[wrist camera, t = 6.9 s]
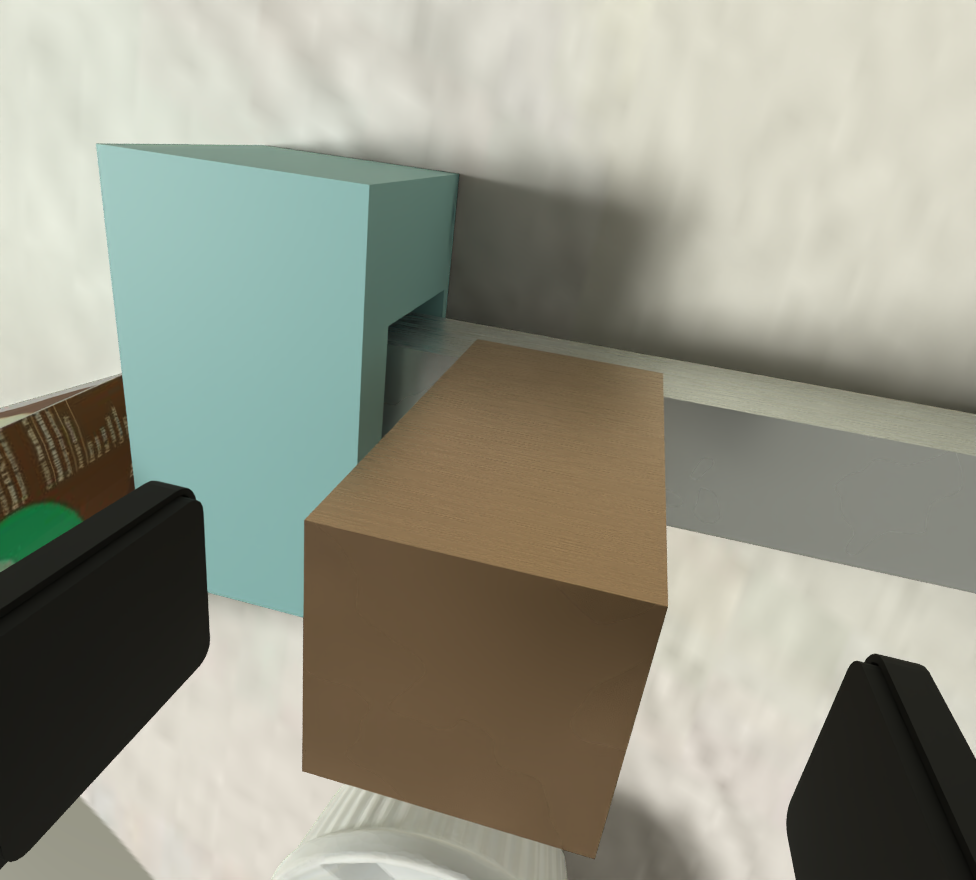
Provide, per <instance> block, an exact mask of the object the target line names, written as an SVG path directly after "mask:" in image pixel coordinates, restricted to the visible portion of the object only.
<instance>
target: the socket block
mask: <svg viewBox="0 0 976 880" xmlns="http://www.w3.org/2000/svg"><path fill="white" fill-rule="evenodd" d="M96 148H97V157H98V165H99V174H100V183H101V192H102V201H103V210H104V218H105V227H106V236H107V245H108V254H109V263H110V271H111V280H112V289H113V298H114V307H115V316H116V324H117V333H118V342H119V351H120V360H121V369H122V378H123V386H124V395H125V404H126V413H127V422H128V431H129V439H130V448H131V457H132V466H133V475H134V484H135V489H137V488H138V487H140V486H142V485H143V484H145V483H147V482H149V481H161V482H165V483H169V484H173V485H177V486H181V487H185V488H189V489H190V490H192V491H193V493H194V495H195V497H196V500H198V501H199V502H201V504H202V506H203V511H204V529H205V550H206V570H207V591H208V593H212V594H216V595H220V596H224V597H227V598H231V599H235V600H239V601H243V602H246V603H250V604H254V605H258V606H262V607H265V608H269V609H273V610H277V611H281V612H285V613H288V614H292V615H296V616H300V617H303V604H304V520H305V519H306V518H307V517H308V516H309V514H310V513H311V512H312V511H313V510H314V509H315V508H316V507H317V506H318V505H319V504H320V503H321V502H322V501H323V500H324V499H325V498H326V497H327V496H328V495H329V494H330V493H331V491H332V490H333V489H334V488H335V487H336V486H337V485H338V484H339V483H340V482H341V481H342V480H343V479H344V478H345V477H346V476H347V475H348V474H349V473H350V472H351V471H352V469H353V468H354V467H355V466H356V465H357V464H358V463H359V462H360V461H361V460H362V459H363V458H364V457H365V456H366V455H367V454H368V453H369V452H370V451H371V450H372V449H373V448H374V446H375V445H376V444H377V443H378V442H379V441H380V440H381V439H382V423H383V407H384V390H385V373H386V357H387V340H388V326H389V325H391V324H392V323H394V322H396V321H397V320H399V319H400V318H402V317H403V316H405V315H406V314H408V313H409V312H415V313H420V314H426V315H431V316H437V317H442V318H446V308H447V298H448V287H449V277H450V266H451V256H452V245H453V235H454V225H455V214H456V204H457V193H458V183H459V174H457V173H450V172H443V171H436V170H429V169H422V168H416V167H409V166H402V165H395V164H388V163H381V162H374V161H368V160H361V159H354V158H347V157H340V156H333V155H326V154H319V153H313V152H306V151H299V150H292V149H285V148H278V147H271V146H264V145H191V144H96Z"/></svg>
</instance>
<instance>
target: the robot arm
mask: <svg viewBox="0 0 976 880" xmlns="http://www.w3.org/2000/svg"><path fill="white" fill-rule="evenodd" d="M209 645H210V632H209V611H208V591H207V570H206V550H205V529H204V511H203V506H202V504H201V502H199V501H198V500H196V497H195V495H194V493H193V491H192V490H190V489H189V488H185V487H181V486H177V485H173V484H169V483H165V482H161V481H149V482H147V483H145V484H143V485H142V486H140V487H138V488H137V489H135V490H133V491H132V492H130V493H129V494H127V495H125V496H124V497H122V498H120V499H119V500H117V501H116V502H114V503H112V504H111V505H109V506H107V507H106V508H104V509H102V510H101V511H99V512H98V513H96V514H94V515H93V516H91V517H89V518H88V519H86V520H85V521H83V522H81V523H80V524H78V525H76V526H75V527H73V528H72V529H70V530H68V531H67V532H65V533H63V534H62V535H60V536H59V537H57V538H55V539H54V540H52V541H50V542H49V543H47V544H45V545H44V546H42V547H41V548H39V549H37V550H36V551H34V552H32V553H31V554H29V555H28V556H26V557H24V558H23V559H21V560H19V561H18V562H16V563H15V564H13V565H11V566H10V567H8V568H6V569H5V570H3V571H2V572H0V869H1V868H2V867H3V866H4V865H5V864H6V863H7V862H8V861H9V862H12V861H16V860H18V859H19V858H21V857H23V856H24V855H25V854H26V853H27V852H28V851H29V850H30V849H31V848H32V847H33V846H34V845H35V844H36V843H37V842H38V841H39V840H40V838H41V837H42V836H43V835H44V834H45V833H46V832H47V831H48V830H49V829H50V828H51V826H52V825H53V824H54V823H55V822H56V821H57V820H58V819H59V818H60V817H61V816H62V815H63V814H64V812H65V811H66V810H67V809H68V808H69V807H70V806H71V805H72V804H73V803H74V802H75V801H76V799H77V798H78V797H79V796H80V795H81V794H82V793H83V792H84V791H85V790H86V789H87V788H88V786H89V785H90V784H91V783H92V782H93V781H94V780H95V779H96V778H97V777H98V776H99V774H100V773H101V772H102V771H103V770H104V769H105V768H106V767H107V766H108V765H109V764H110V763H111V761H112V760H113V759H114V758H115V757H116V756H117V755H118V754H119V753H120V752H121V751H122V750H123V748H124V747H125V746H126V745H127V744H128V743H129V742H130V741H131V740H132V739H133V738H134V737H135V735H136V734H137V733H138V732H139V731H140V730H141V729H142V728H143V727H144V726H145V725H146V724H147V722H148V721H149V720H150V719H151V718H152V717H153V716H154V715H155V714H156V713H157V712H158V711H159V709H160V708H161V707H162V706H163V705H164V704H165V703H166V702H167V701H168V700H169V699H170V697H171V696H172V695H173V694H174V693H175V692H176V691H177V690H178V689H179V688H180V687H181V686H182V684H183V683H184V682H185V681H186V680H187V679H188V678H189V677H190V676H191V675H192V674H193V673H194V671H195V670H196V669H197V668H198V667H199V666H200V665H201V663H202V662H203V660H204V659H205V657H206V654H207V652H208V649H209ZM786 826H787V836H788V842H789V847H790V852H791V857H792V862H793V867H794V873H795V878H796V880H976V759H975V757H974V755H973V753H972V751H971V749H970V747H969V745H968V744H967V742H966V740H965V738H964V736H963V734H962V732H961V731H960V729H959V727H958V725H957V723H956V721H955V719H954V718H953V716H952V714H951V712H950V710H949V708H948V706H947V704H946V703H945V701H944V699H943V697H942V695H941V693H940V691H939V690H938V688H937V686H936V684H935V682H934V680H933V678H932V677H931V675H930V673H929V671H928V670H927V669H926V668H925V667H924V666H922V665H920V664H916V663H912V662H908V661H904V660H900V659H896V658H891V657H887V656H883V655H879V654H872V655H870V656H869V657H868V658H867V659H866V660H865V662H860V661H854V662H853V663H852V664H851V665H850V666H849V668H848V670H847V672H846V675H845V677H844V679H843V681H842V684H841V686H840V688H839V691H838V693H837V695H836V697H835V700H834V702H833V704H832V707H831V709H830V711H829V714H828V716H827V718H826V720H825V723H824V725H823V727H822V730H821V732H820V734H819V737H818V739H817V741H816V743H815V746H814V748H813V750H812V753H811V755H810V757H809V760H808V762H807V764H806V766H805V769H804V771H803V773H802V776H801V778H800V780H799V782H798V785H797V787H796V789H795V792H794V794H793V796H792V799H791V801H790V804H789V807H788V812H787V821H786Z"/></svg>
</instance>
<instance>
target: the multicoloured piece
mask: <svg viewBox="0 0 976 880" xmlns="http://www.w3.org/2000/svg"><path fill="white" fill-rule="evenodd" d="M666 525H667V526H671V527H676V528H680V529H685V530H689V531H694V532H698V533H703V534H708V535H712V536H717V537H721V538H726V539H730V540H735V541H739V542H744V543H749V544H753V545H758V546H762V547H767V548H771V549H776V550H780V551H785V552H789V553H794V554H799V555H803V556H808V557H812V558H817V559H821V560H826V561H830V562H835V563H840V564H844V565H849V566H853V567H858V568H862V569H867V570H871V571H876V572H880V573H885V574H890V575H894V576H899V577H903V578H908V579H912V580H917V581H921V582H926V583H931V584H935V585H940V586H944V587H949V588H953V589H958V590H962V591H967V592H971V593H976V414H972V413H967V412H961V411H956V410H950V409H945V408H939V407H934V406H928V405H923V404H917V403H912V402H906V401H901V400H895V399H890V398H884V397H879V396H873V395H867V394H862V393H856V392H851V391H845V390H840V389H834V388H829V387H823V386H818V385H812V384H807V383H801V382H796V381H790V380H785V379H779V378H774V377H768V376H763V375H757V374H752V373H746V372H740V371H735V370H729V369H724V368H718V367H713V366H707V365H702V364H696V363H691V362H685V361H680V360H674V359H669V358H663V357H658V356H652V355H647V354H641V353H636V352H630V351H625V350H619V349H613V348H608V347H602V346H597V345H591V344H586V343H580V342H575V341H569V340H564V339H558V338H553V337H547V336H542V335H536V334H531V333H525V332H520V331H514V330H509V329H503V328H498V327H492V326H486V325H481V324H475V323H470V322H464V321H459V320H453V319H448V318H442V317H437V316H431V315H426V314H420V313H415V312H409V313H408V314H406V315H405V316H403V317H402V318H400V319H399V320H397V321H396V322H394V323H392V324H391V325H389V326H388V340H387V357H386V373H385V390H384V407H383V423H382V439H381V440H380V441H379V442H378V443H377V444H376V445H375V446H374V448H373V449H372V450H371V451H370V452H369V453H368V454H367V455H366V456H365V457H364V458H363V459H362V460H361V461H360V462H359V463H358V464H357V465H356V466H355V467H354V468H353V469H352V471H351V472H350V473H349V474H348V475H347V476H346V477H345V478H344V479H343V480H342V481H341V482H340V483H339V484H338V485H337V486H336V487H335V488H334V489H333V490H332V491H331V493H330V494H329V495H328V496H327V497H326V498H325V499H324V500H323V501H322V502H321V503H320V504H319V505H318V506H317V507H316V508H315V509H314V510H313V511H312V512H311V513H310V514H309V516H308V517H307V518H306V519H305V520H304V604H303V743H302V771H304V772H307V773H310V774H314V775H317V776H320V777H324V778H327V779H330V780H334V781H337V782H340V783H344V784H347V785H350V786H354V787H357V788H360V789H363V790H367V791H370V792H373V793H377V794H380V795H383V796H387V797H390V798H393V799H397V800H400V801H403V802H407V803H410V804H413V805H416V806H420V807H423V808H426V809H430V810H433V811H436V812H440V813H443V814H446V815H450V816H453V817H456V818H459V819H463V820H466V821H469V822H473V823H476V824H479V825H483V826H486V827H489V828H493V829H496V830H499V831H503V832H506V833H509V834H512V835H516V836H519V837H522V838H526V839H529V840H532V841H536V842H539V843H542V844H546V845H549V846H552V847H556V848H559V849H562V850H565V851H569V852H572V853H575V854H579V855H582V856H585V857H589V858H592V859H595V856H596V853H597V850H598V846H599V843H600V839H601V836H602V832H603V829H604V825H605V822H606V819H607V815H608V812H609V808H610V805H611V801H612V798H613V794H614V791H615V787H616V784H617V781H618V777H619V774H620V770H621V767H622V763H623V760H624V756H625V753H626V750H627V746H628V743H629V739H630V736H631V732H632V729H633V725H634V722H635V718H636V715H637V712H638V708H639V705H640V701H641V698H642V694H643V691H644V687H645V684H646V681H647V677H648V674H649V670H650V667H651V663H652V660H653V656H654V653H655V649H656V646H657V643H658V639H659V636H660V632H661V629H662V625H663V622H664V618H665V615H666V612H667V608H668V589H667V540H666Z"/></svg>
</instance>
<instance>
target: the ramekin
mask: <svg viewBox="0 0 976 880" xmlns="http://www.w3.org/2000/svg"><path fill="white" fill-rule="evenodd" d="M271 880H567V872H566V863H565V857H564V854H563V851H562V849H559V848H556V847H552V846H549V845H546V844H542V843H539V842H536V841H532V840H529V839H526V838H522V837H519V836H516V835H512V834H509V833H506V832H503V831H499V830H496V829H493V828H489V827H486V826H483V825H479V824H476V823H473V822H469V821H466V820H463V819H459V818H456V817H453V816H450V815H446V814H443V813H440V812H436V811H433V810H430V809H426V808H423V807H420V806H416V805H413V804H410V803H407V802H403V801H400V800H397V799H393V798H390V797H387V796H383V795H380V794H377V793H373V792H370V791H367V790H363V789H360V788H357V787H354V786H350V785H347V784H343V785H342V787H341V788H340V789H339V790H338V791H337V793H336V794H335V795H334V797H333V798H332V799H331V801H330V802H329V804H328V805H327V806H326V808H325V809H324V811H323V812H322V813H321V815H320V816H319V818H318V819H317V820H316V822H315V823H314V825H313V826H312V827H311V829H310V830H309V832H308V833H307V835H306V836H305V837H304V839H303V840H302V842H301V843H300V845H299V846H298V848H297V849H295V850H294V851H293V852H292V853H290V854H289V855H288V856H287V857H286V858H285V859H284V860H283V862H282V863H281V864H280V865H279V867H278V868H277V870H276V871H275V873H274V875H273V877H272V879H271Z"/></svg>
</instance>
